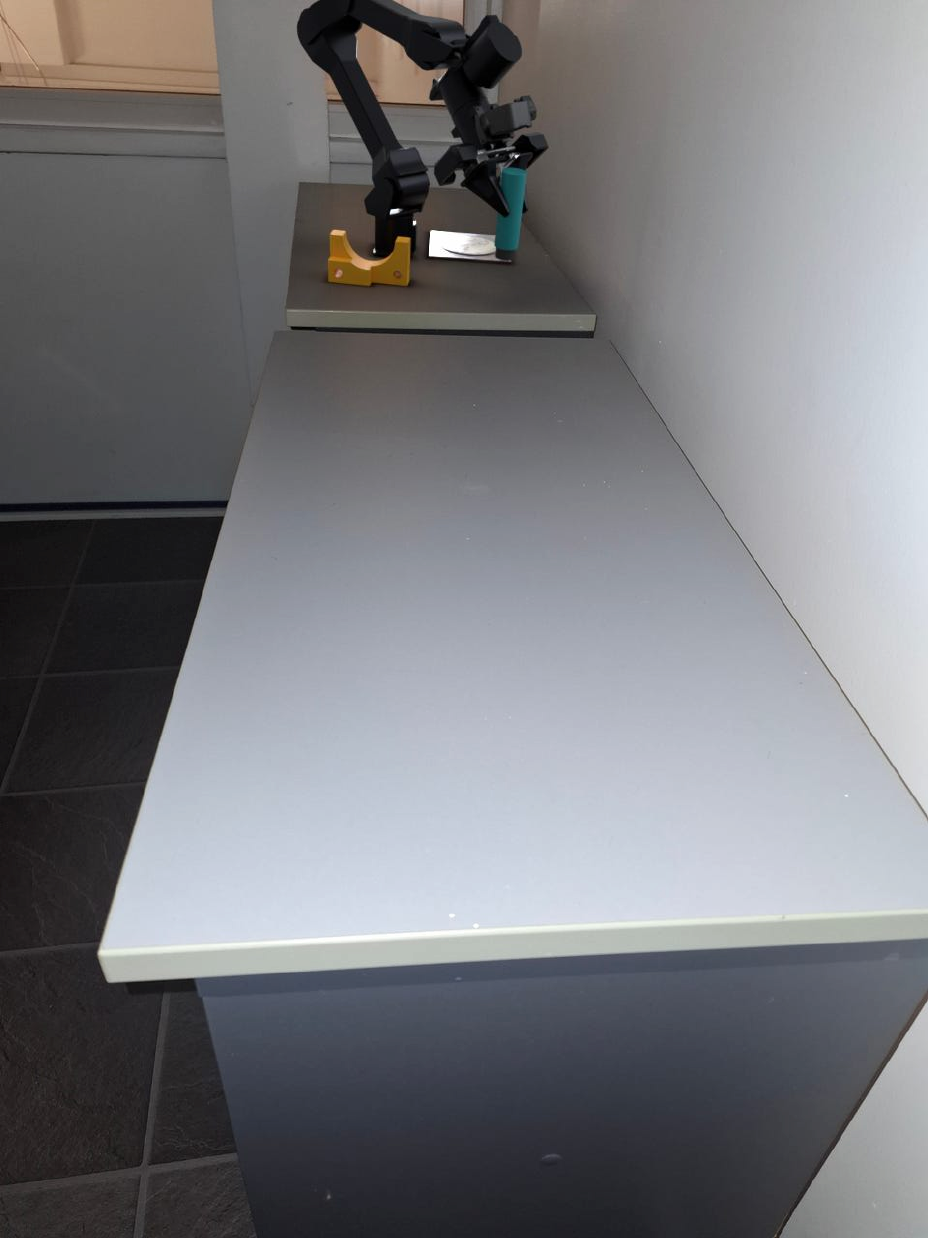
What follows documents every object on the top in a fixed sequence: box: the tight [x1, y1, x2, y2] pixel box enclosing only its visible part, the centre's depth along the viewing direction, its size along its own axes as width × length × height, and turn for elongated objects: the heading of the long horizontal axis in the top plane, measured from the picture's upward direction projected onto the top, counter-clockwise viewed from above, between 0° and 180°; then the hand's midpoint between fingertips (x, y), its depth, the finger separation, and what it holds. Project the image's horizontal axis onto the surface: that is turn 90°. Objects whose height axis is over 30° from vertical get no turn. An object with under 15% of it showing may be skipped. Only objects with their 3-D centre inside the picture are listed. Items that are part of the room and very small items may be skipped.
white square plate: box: [428, 230, 512, 265], centre depth 150 cm, size 14×14×1 cm
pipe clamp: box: [327, 229, 411, 287], centre depth 132 cm, size 12×4×6 cm, turn 84°
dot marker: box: [494, 168, 528, 261], centre depth 126 cm, size 4×4×12 cm
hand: (516, 213), depth 125 cm, fingers closed on dot marker, 3 cm apart
